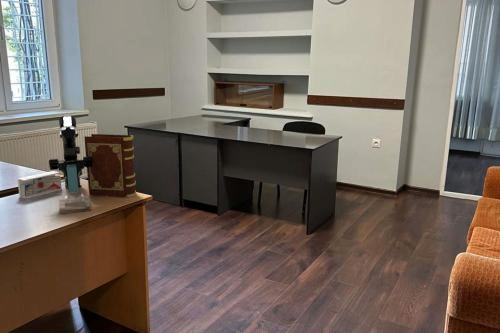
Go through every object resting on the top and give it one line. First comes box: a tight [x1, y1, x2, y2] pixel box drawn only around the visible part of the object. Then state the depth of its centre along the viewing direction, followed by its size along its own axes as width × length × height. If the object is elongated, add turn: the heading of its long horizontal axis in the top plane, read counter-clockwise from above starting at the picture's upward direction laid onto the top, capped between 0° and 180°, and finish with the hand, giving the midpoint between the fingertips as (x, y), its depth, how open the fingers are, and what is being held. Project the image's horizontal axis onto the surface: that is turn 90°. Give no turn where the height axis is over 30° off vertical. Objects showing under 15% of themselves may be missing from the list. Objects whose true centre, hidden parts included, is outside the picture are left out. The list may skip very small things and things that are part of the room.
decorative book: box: [84, 133, 137, 198], centre depth 206 cm, size 22×8×30 cm, turn 84°
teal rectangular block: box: [67, 165, 79, 194], centre depth 194 cm, size 6×4×12 cm, turn 24°
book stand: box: [58, 193, 92, 215], centre depth 191 cm, size 18×13×4 cm
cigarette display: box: [16, 170, 63, 199], centre depth 210 cm, size 20×6×9 cm, turn 146°
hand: (72, 178), depth 193 cm, fingers closed on teal rectangular block, 4 cm apart
